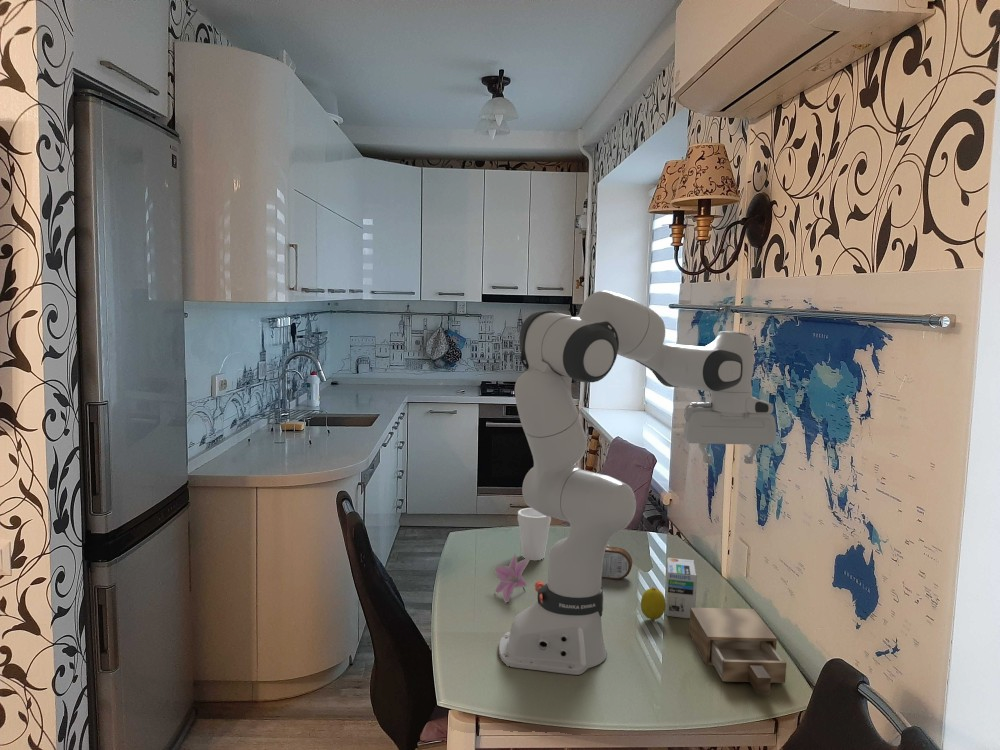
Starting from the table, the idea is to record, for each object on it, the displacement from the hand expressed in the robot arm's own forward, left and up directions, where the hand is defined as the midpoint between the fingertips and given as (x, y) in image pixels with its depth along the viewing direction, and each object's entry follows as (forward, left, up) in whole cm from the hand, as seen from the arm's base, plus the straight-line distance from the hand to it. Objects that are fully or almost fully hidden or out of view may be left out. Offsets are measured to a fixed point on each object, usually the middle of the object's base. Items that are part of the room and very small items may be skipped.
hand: (727, 462), depth 167 cm
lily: (-49, +11, -37) cm, 62 cm away
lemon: (-16, -2, -37) cm, 41 cm away
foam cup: (-42, +38, -37) cm, 68 cm away
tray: (-2, -26, -36) cm, 45 cm away
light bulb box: (-8, +5, -37) cm, 39 cm away
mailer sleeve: (-2, -15, -37) cm, 40 cm away
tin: (-24, +24, -37) cm, 51 cm away
